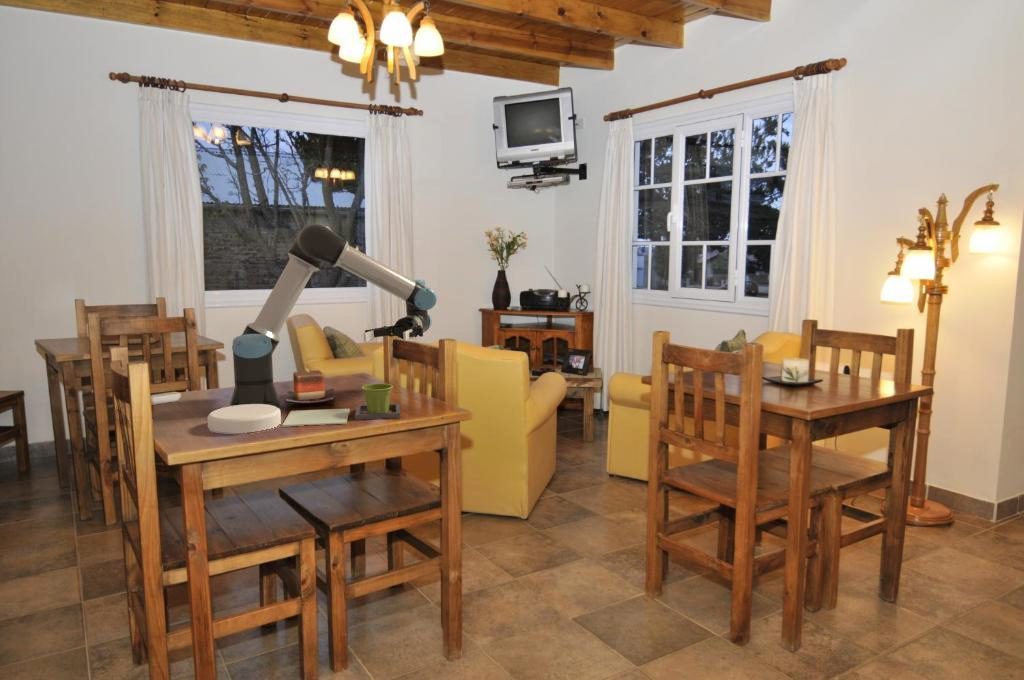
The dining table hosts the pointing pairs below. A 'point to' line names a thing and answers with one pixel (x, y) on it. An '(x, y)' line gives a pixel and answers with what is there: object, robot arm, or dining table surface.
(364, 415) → the pot collar
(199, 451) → the dining table surface
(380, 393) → the plant pot
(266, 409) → the container
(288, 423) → the sage mat
